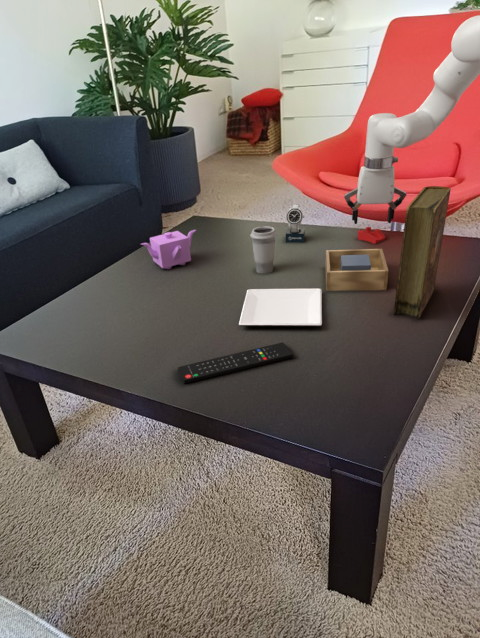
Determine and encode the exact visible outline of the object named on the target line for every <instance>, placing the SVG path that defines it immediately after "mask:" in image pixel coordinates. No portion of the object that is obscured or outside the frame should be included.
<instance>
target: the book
mask: <svg viewBox="0 0 480 638" xmlns="http://www.w3.org/2000/svg"><path fill="white" fill-rule="evenodd" d="M451 189H452V188H450V187H448V186H442V185H441V186H440V185H438V186H437V185H431V186H424V187H422V189H421V190H420V192H419V193H418V194H416V196H415V197H414V198H413V200H412V201H411V202H410V203H409V204H408V205H407V207H406V210H405V211H406V212H405V217H404V225H403V234H402V242H401V249H400V259H399V267H398V275H397V282H396V292H395V297H394V306H393V316H399V315H401V316H409V317H411V318H414V319H417V320H420V318H421V316H422V314H423V312H424V310H425V308H426V307H427V304H428V302H429V301H430V299H431V297H432V295H433V293H434V291H435V286H436V281H437V280H436V279H437V273H438V267H439V262H440V255H441V250H442V244H443V237H444V232H445V226H446V220H447V213H448V207H449V201H450V195H451V191H452V190H451Z"/></svg>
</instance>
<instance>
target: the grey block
mask: <svg viewBox="0 0 480 638" xmlns="http://www.w3.org/2000/svg"><path fill="white" fill-rule="evenodd" d="M357 270H371V263H370V259H369V255H341V263H340V271H357Z"/></svg>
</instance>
